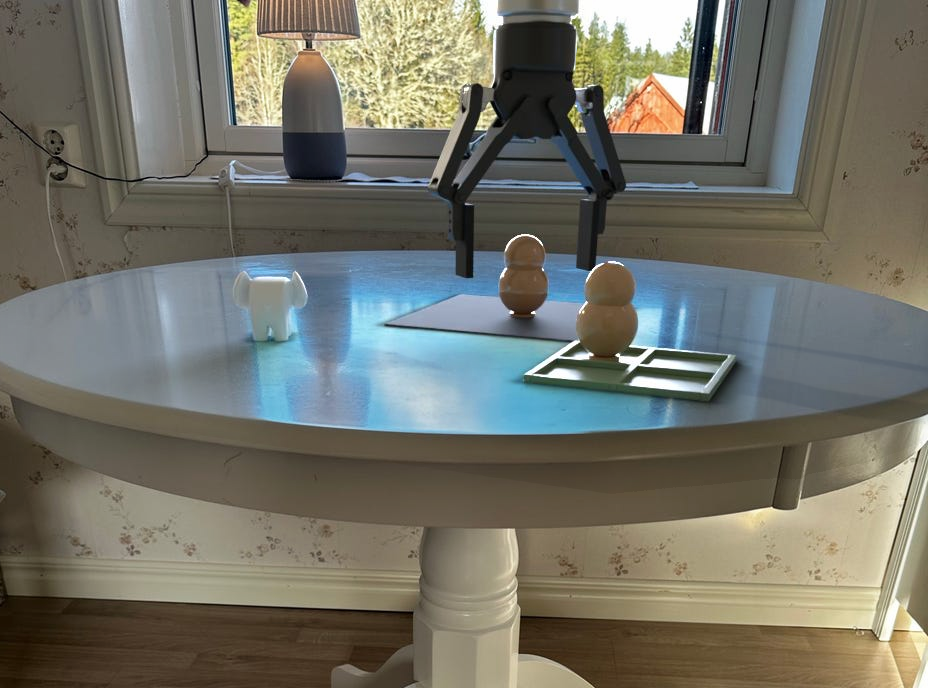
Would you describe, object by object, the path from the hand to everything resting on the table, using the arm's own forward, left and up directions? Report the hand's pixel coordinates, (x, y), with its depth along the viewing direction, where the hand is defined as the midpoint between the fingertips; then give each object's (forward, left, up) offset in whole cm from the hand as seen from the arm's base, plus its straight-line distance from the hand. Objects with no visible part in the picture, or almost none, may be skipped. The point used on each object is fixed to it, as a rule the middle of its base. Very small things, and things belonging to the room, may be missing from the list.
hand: (526, 273), depth 96 cm
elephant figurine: (+18, +19, -5) cm, 27 cm away
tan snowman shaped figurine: (0, 0, -4) cm, 4 cm away
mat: (+1, 0, -5) cm, 5 cm away
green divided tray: (-16, +19, -5) cm, 25 cm away
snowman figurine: (-12, +16, -4) cm, 20 cm away
